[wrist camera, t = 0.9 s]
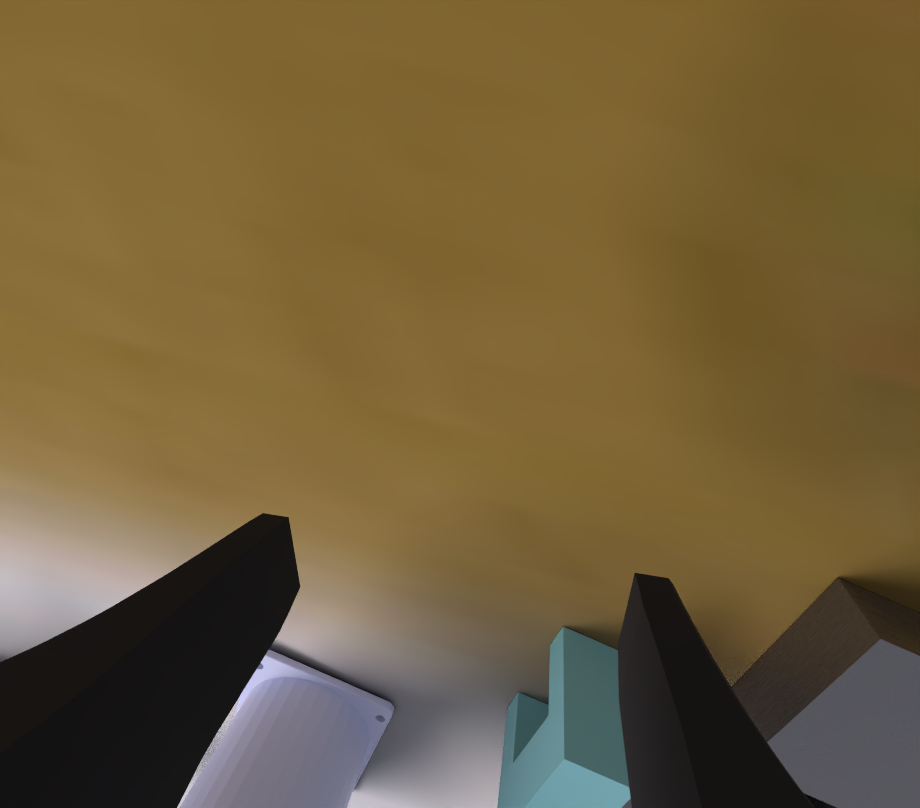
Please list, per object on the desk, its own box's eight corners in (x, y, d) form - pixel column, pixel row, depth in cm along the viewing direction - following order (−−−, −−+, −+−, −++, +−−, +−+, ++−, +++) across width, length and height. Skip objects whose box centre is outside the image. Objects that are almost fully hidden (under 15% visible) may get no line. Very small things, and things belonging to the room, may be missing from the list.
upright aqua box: (558, 730, 26) (557, 872, 21) (507, 708, 26) (493, 844, 21) (619, 651, 24) (637, 791, 18) (563, 626, 24) (564, 759, 18)
